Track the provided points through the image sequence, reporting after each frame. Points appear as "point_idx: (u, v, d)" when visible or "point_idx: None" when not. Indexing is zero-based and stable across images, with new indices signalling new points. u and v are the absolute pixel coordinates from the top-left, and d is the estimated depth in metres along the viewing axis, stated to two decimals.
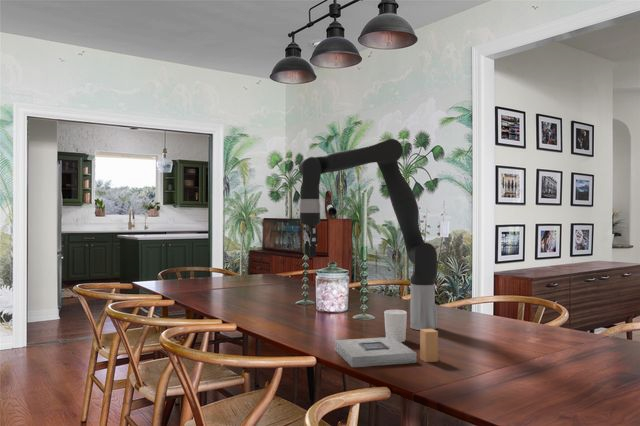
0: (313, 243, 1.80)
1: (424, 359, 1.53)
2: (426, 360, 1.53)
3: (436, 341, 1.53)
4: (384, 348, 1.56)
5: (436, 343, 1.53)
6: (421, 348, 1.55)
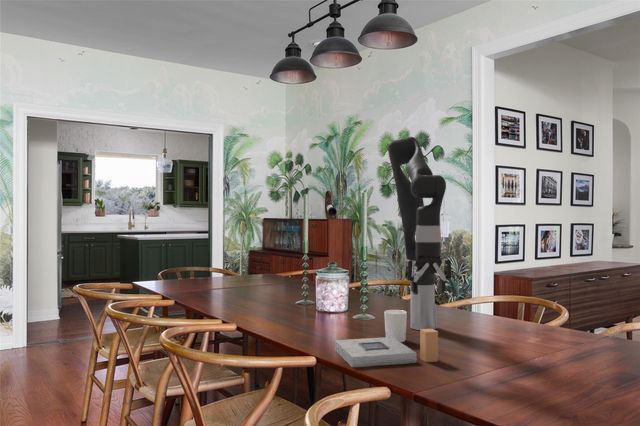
0: None
1: (424, 359, 1.53)
2: (426, 360, 1.53)
3: (436, 341, 1.53)
4: (384, 348, 1.56)
5: (436, 343, 1.53)
6: (421, 348, 1.55)
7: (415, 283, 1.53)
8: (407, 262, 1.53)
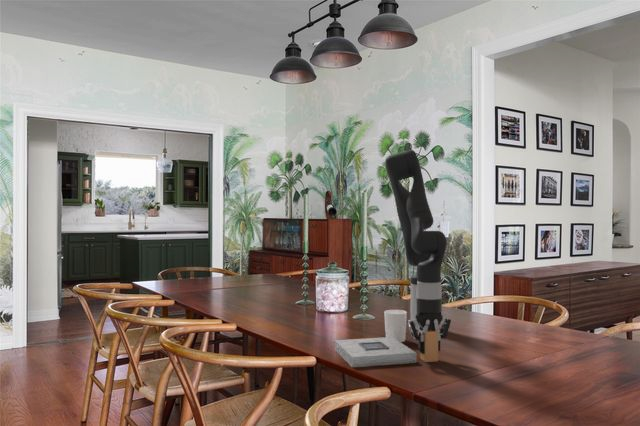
0: None
1: (424, 359, 1.53)
2: (426, 360, 1.53)
3: (436, 341, 1.53)
4: (384, 348, 1.56)
5: (436, 343, 1.53)
6: None
7: (422, 342, 1.54)
8: (409, 323, 1.53)
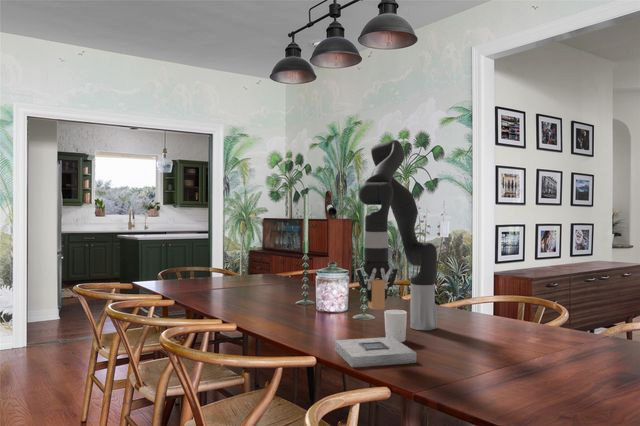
0: None
1: (371, 307, 1.57)
2: (373, 307, 1.57)
3: (383, 289, 1.57)
4: (384, 348, 1.56)
5: (383, 291, 1.57)
6: None
7: (369, 291, 1.58)
8: (356, 272, 1.57)
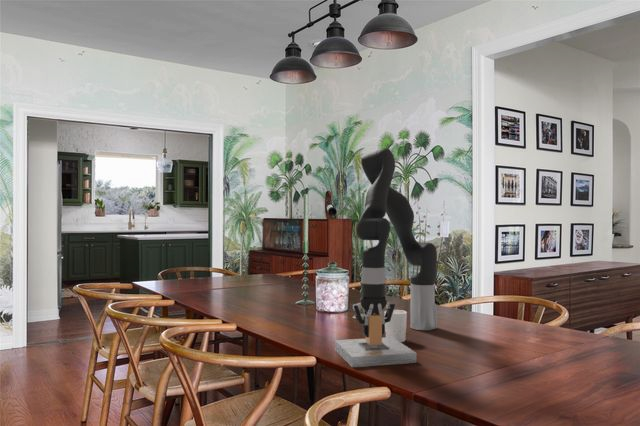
0: None
1: (368, 342, 1.58)
2: (370, 343, 1.57)
3: (380, 325, 1.58)
4: (384, 348, 1.56)
5: (380, 327, 1.58)
6: None
7: (366, 326, 1.58)
8: (353, 307, 1.58)
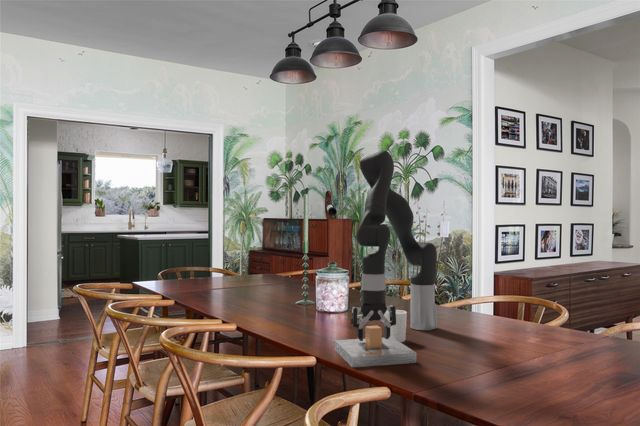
0: None
1: None
2: None
3: (380, 337, 1.58)
4: (384, 348, 1.56)
5: (380, 339, 1.58)
6: (366, 345, 1.60)
7: (360, 330, 1.58)
8: (352, 309, 1.58)
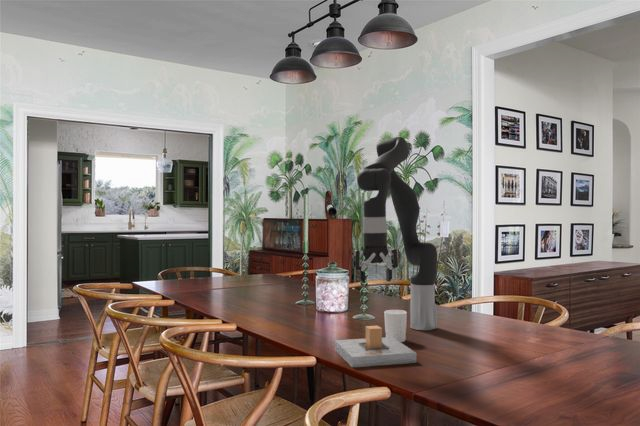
0: None
1: None
2: None
3: (380, 337, 1.58)
4: (384, 348, 1.56)
5: (380, 339, 1.58)
6: (366, 345, 1.60)
7: (363, 272, 1.60)
8: (355, 252, 1.60)
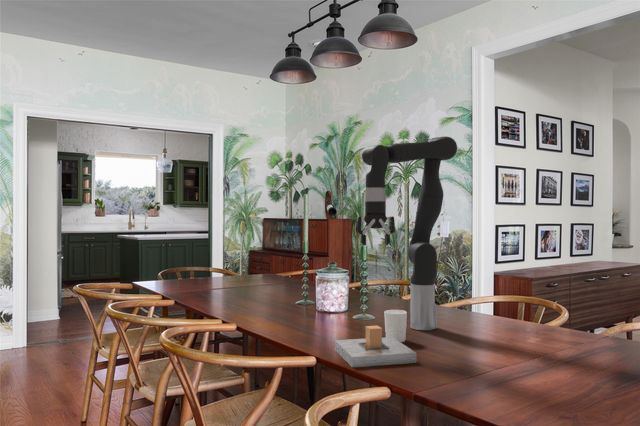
0: None
1: None
2: None
3: (380, 337, 1.58)
4: (384, 348, 1.56)
5: (380, 339, 1.58)
6: (366, 345, 1.60)
7: (364, 236, 1.83)
8: (357, 218, 1.83)
